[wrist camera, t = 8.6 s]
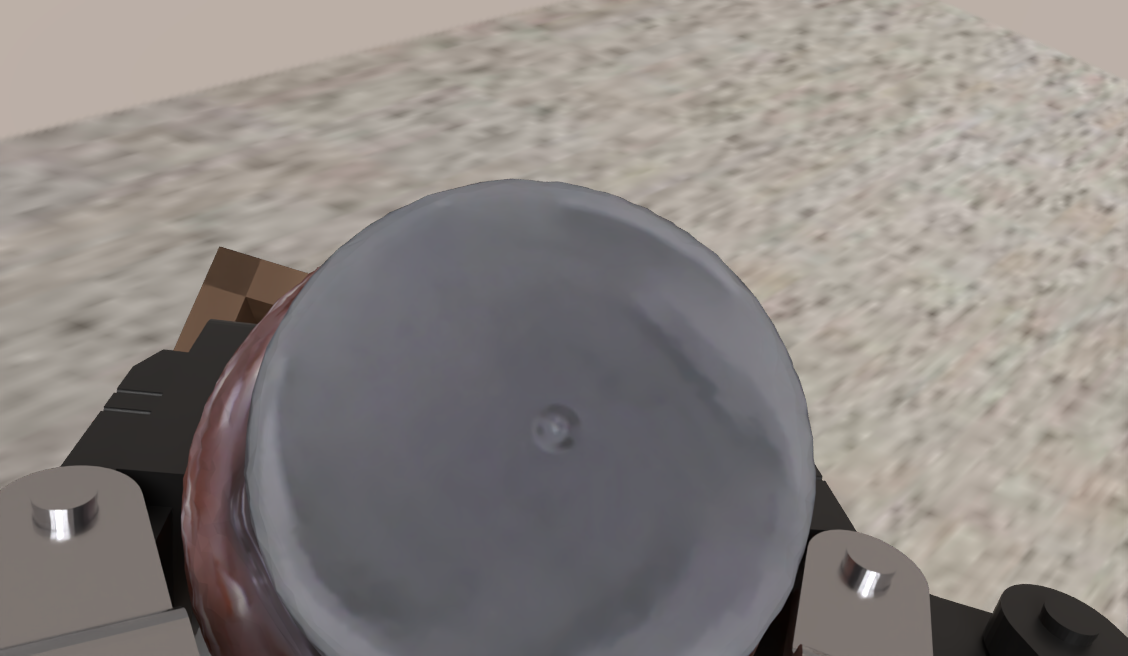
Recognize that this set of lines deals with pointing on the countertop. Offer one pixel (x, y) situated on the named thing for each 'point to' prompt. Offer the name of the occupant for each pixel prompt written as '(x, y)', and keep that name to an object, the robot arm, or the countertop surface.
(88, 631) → the robot arm
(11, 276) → the countertop surface
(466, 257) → the supplement bottle
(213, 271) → the frame
